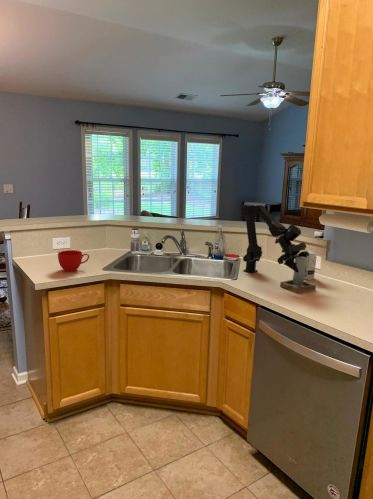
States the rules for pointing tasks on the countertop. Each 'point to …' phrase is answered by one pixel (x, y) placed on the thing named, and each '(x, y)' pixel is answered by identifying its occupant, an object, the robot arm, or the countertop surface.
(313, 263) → the supplement can
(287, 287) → the walnut tray
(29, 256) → the countertop surface
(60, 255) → the ceramic cup
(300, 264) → the slate part
